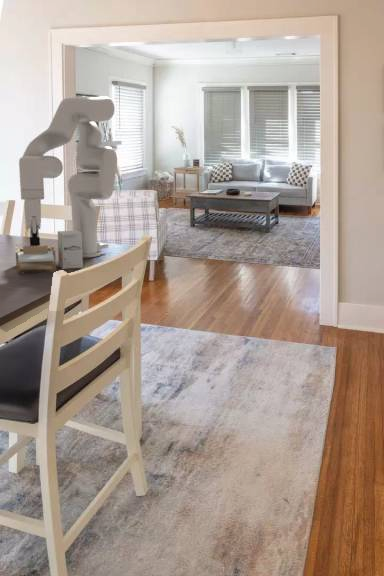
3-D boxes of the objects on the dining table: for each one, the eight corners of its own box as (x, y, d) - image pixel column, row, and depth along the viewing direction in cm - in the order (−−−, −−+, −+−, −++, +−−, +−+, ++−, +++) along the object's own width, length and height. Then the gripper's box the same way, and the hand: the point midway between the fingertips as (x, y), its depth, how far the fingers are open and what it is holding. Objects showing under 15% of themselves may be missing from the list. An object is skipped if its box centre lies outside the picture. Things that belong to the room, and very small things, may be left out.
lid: (18, 254, 196) (18, 244, 195) (52, 252, 199) (51, 243, 198) (18, 262, 184) (17, 251, 183) (54, 260, 187) (53, 250, 186)
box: (17, 265, 208) (15, 245, 206) (54, 263, 211) (53, 244, 209) (16, 273, 196) (15, 252, 194) (56, 271, 199) (55, 250, 197)
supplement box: (62, 269, 202) (61, 234, 199) (58, 265, 209) (56, 230, 205) (83, 268, 205) (82, 233, 202) (78, 263, 212) (77, 229, 208)
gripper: (20, 192, 198) (23, 245, 202) (20, 196, 184) (23, 253, 188) (43, 192, 200) (45, 244, 204) (44, 196, 186) (47, 252, 190)
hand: (35, 248), depth 196 cm, fingers closed
